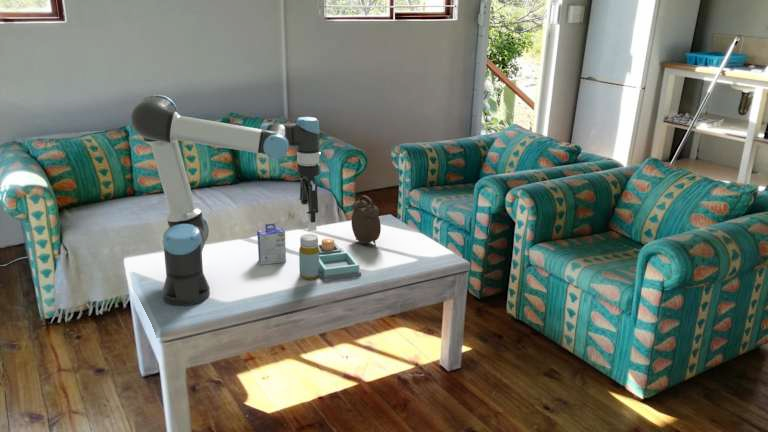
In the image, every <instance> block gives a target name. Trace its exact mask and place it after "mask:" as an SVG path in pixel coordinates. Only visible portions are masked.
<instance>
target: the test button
mask: <svg viewBox="0 0 768 432" xmlns="http://www.w3.org/2000/svg"><path fill="white" fill-rule="evenodd" d="M334 243H335V239H332V238H324V239H321V244H322V251H331V250H334Z"/></svg>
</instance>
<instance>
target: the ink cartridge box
mask: <svg viewBox="0 0 768 432" xmlns="http://www.w3.org/2000/svg"><path fill="white" fill-rule="evenodd" d="M264 225H265V229H264V230H263V229H262V230H257V231H256V233H257V236H256V237H257V248H258V249H257V252H258V255H257V256H258V263H259V264H260V266H264V265H265V266H266V265H271V264H280V263H286V261H287V258H286V257H287V256H286V231H285V230H284V228H283V227H278V228H276V224H275V223H265V224H264Z"/></svg>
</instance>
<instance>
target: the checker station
mask: <svg viewBox="0 0 768 432" xmlns="http://www.w3.org/2000/svg"><path fill="white" fill-rule="evenodd" d="M318 248H319V276H320V277H321V278H322V280H323V281H328V280H336V279H343V278H350V277H358V276H359V277H360V276H362V272H361V270H360V264H359V263H358V262H357V260H356V259H355V258H354V257H353V256H352V254H351V253H350V252H349V251H345V250H344V248H342V247H339V246H338V245H337V243H336V242H334V250H331V251H322V243H320V244H318Z"/></svg>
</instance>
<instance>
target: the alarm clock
mask: <svg viewBox="0 0 768 432" xmlns="http://www.w3.org/2000/svg"><path fill="white" fill-rule="evenodd" d="M363 198H365V199H366V200H367V201H369V204H368V203H367V201H366V200H363ZM379 213H380V212H379V208H378V206H376V205H374V203H373V200H372V199H371V198H370V197H369V196H367V195H364V194H363V195H361V196H360V197H357V201H356V200H355V202H354V203H353V212H352V215H351V229H352V232H353V235H354V237H355V240H356V241H357V242H359V243H361V244H364V245H365V247H368V243H371V242H372V243H373V244H374V247H376V246H377V245H376V241H377V240H378V239H379V238H380V236H381V230H382V227H381V220H380V217H379Z"/></svg>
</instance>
